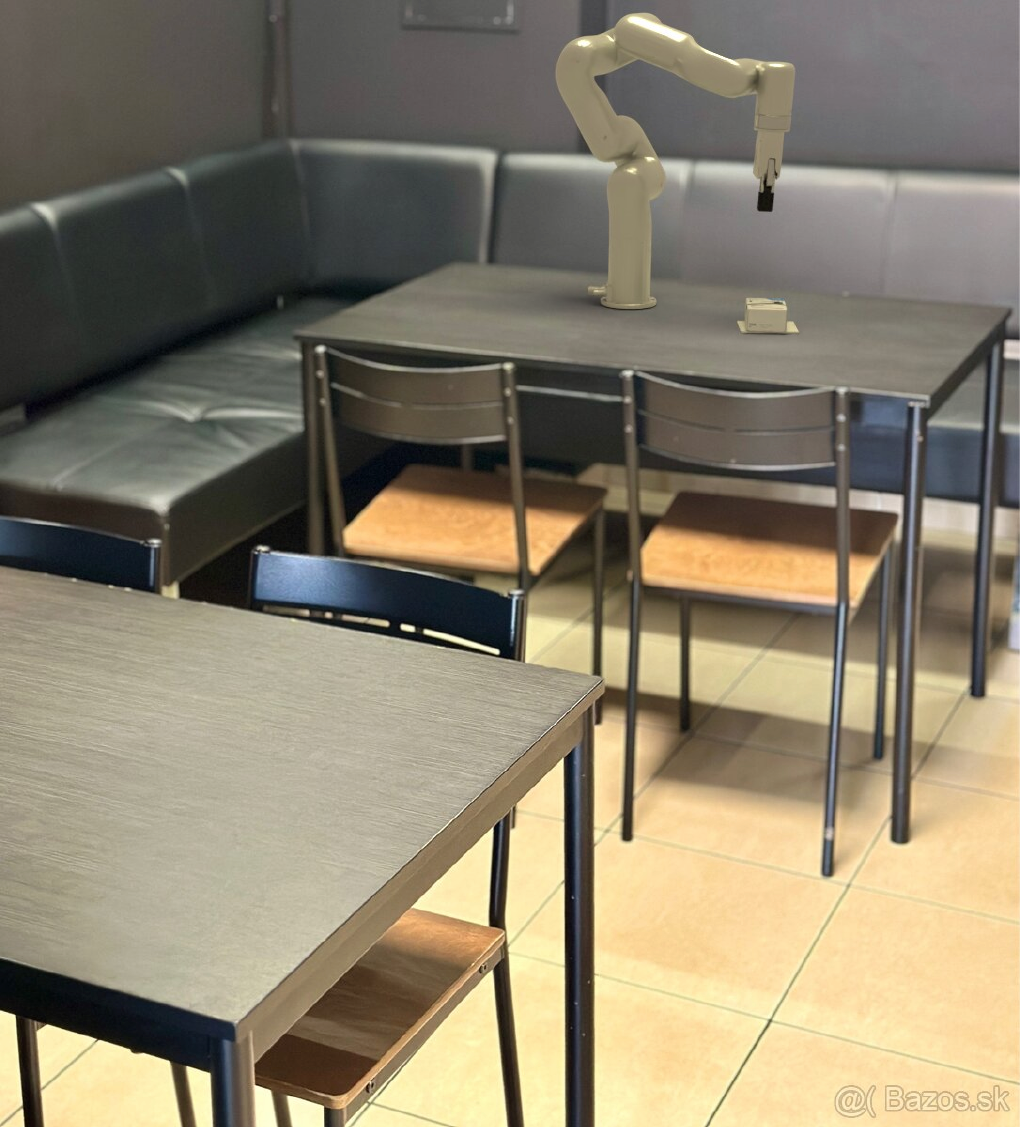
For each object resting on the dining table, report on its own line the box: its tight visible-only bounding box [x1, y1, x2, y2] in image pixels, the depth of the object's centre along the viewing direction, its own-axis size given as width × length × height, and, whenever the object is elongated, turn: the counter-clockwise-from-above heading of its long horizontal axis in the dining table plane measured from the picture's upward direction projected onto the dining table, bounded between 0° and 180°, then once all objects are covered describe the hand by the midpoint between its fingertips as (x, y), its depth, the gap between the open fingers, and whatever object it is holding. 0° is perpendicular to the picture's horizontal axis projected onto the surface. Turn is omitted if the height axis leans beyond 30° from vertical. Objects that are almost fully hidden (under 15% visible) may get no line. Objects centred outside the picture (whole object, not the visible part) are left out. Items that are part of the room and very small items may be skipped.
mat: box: [736, 320, 800, 335], centre depth 339 cm, size 12×10×1 cm
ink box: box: [744, 297, 788, 332], centre depth 338 cm, size 8×5×12 cm
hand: (764, 210), depth 342 cm, fingers closed
